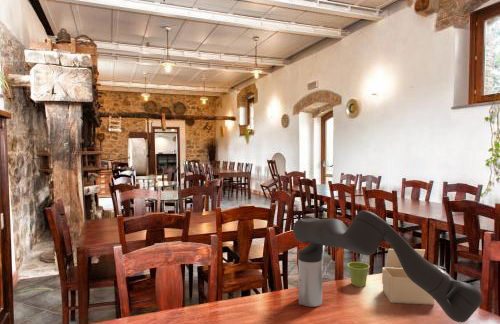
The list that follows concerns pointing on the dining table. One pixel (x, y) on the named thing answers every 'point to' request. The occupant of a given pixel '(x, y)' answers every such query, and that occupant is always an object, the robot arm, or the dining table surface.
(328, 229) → the robot arm
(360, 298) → the dining table surface
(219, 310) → the dining table surface
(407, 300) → the carton
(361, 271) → the plant pot
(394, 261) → the back flap
